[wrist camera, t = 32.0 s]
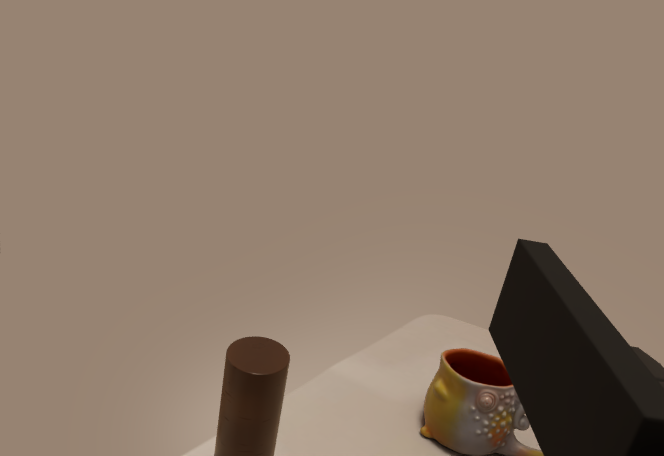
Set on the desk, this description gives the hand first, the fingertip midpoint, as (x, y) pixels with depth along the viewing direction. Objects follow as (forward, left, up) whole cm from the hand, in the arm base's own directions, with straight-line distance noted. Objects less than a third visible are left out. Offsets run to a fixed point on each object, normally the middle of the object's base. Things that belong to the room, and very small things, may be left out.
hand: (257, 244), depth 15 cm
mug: (+26, +16, -26) cm, 41 cm away
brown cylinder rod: (+3, +9, -26) cm, 28 cm away
